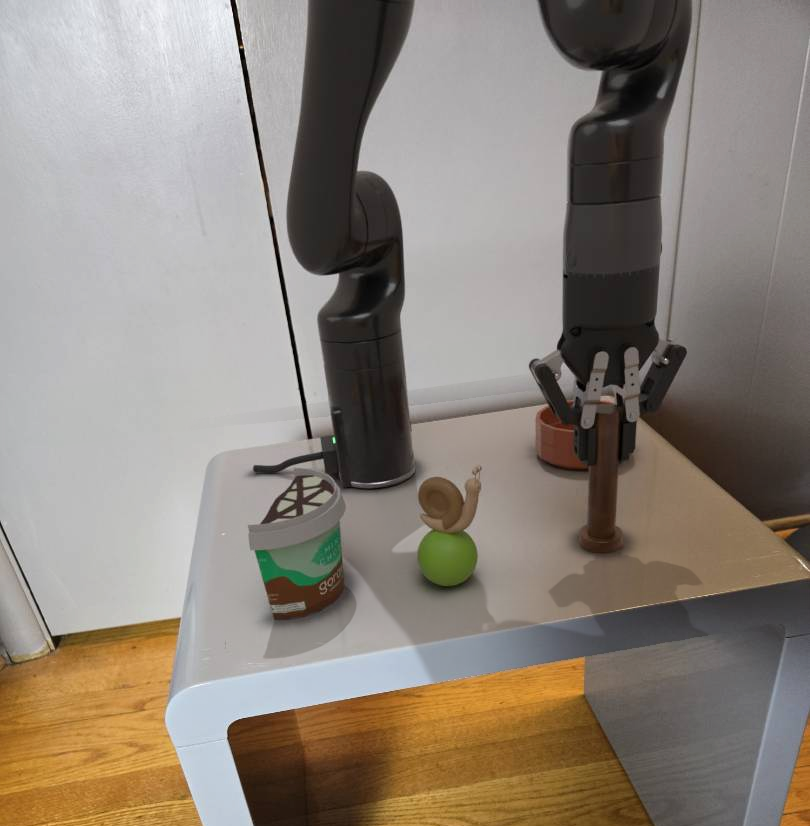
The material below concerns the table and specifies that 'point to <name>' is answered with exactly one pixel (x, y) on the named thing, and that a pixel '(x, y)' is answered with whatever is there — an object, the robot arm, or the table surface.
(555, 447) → the bowl
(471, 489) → the snail figurine
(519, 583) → the table surface
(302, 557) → the food container
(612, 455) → the muddler
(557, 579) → the table surface
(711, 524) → the table surface
